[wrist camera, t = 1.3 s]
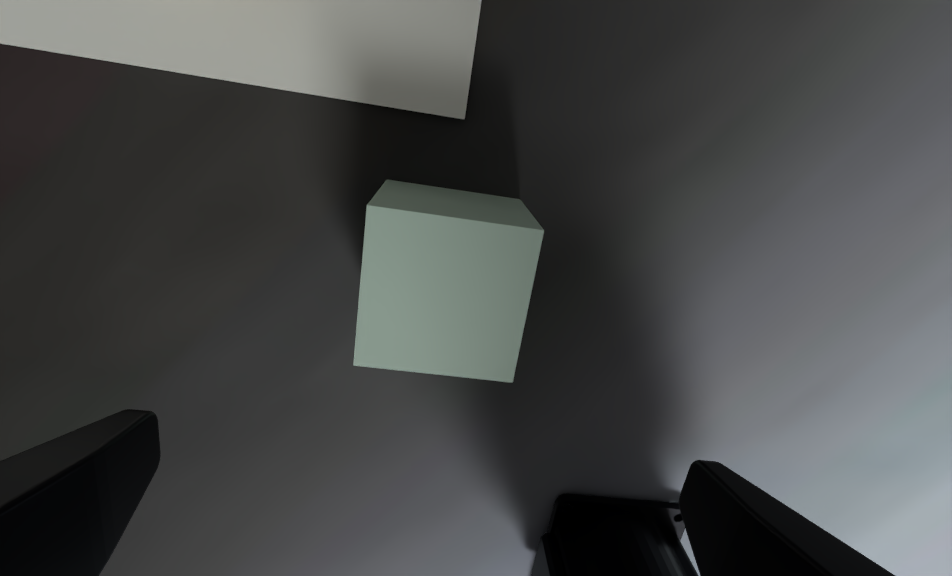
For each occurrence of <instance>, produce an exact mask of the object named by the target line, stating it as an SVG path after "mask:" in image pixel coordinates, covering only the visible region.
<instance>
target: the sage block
mask: <svg viewBox="0 0 952 576" xmlns="http://www.w3.org/2000/svg"><path fill="white" fill-rule="evenodd" d="M543 234H544V229H543V228H542V227H541V226H540V224H539V223H538V222H537V220H536V219H535V218H534V216H533V215H532V214H531V213H530V211H529V210H528V209H527V207H526V206H525V205H524V203H523V202H522V201H521V200H520V199H515V198H508V197H502V196H495V195H488V194H482V193H475V192H468V191H461V190H455V189H448V188H441V187H435V186H428V185H421V184H414V183H408V182H401V181H394V180H388V179H387V180H386V181H385V182H384V183H383V185H382V186H381V187H380V189H379V190H378V191H377V193H376V194H375V195H374V196H373V198H372V199H371V200H370V202H369V203H368V204H367V209H366V221H365V233H364V245H363V257H362V268H361V280H360V292H359V304H358V316H357V328H356V340H355V352H354V364H353V365H354V366H363V367H373V368H382V369H391V370H400V371H409V372H419V373H428V374H437V375H446V376H455V377H464V378H474V379H483V380H492V381H501V382H510V383H513V379H514V374H515V369H516V364H517V359H518V355H519V350H520V345H521V340H522V335H523V330H524V326H525V321H526V316H527V311H528V306H529V302H530V297H531V292H532V287H533V282H534V277H535V273H536V268H537V263H538V258H539V253H540V248H541V244H542V239H543Z"/></svg>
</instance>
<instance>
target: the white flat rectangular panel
mask: <svg viewBox="0 0 952 576" xmlns="http://www.w3.org/2000/svg"><path fill="white" fill-rule="evenodd" d="M481 1H482V0H0V43H1V44H7V45H13V46H19V47H25V48H31V49H37V50H44V51H50V52H56V53H62V54H68V55H74V56H80V57H86V58H92V59H98V60H105V61H111V62H117V63H123V64H129V65H135V66H141V67H147V68H153V69H159V70H166V71H172V72H178V73H184V74H190V75H196V76H202V77H208V78H214V79H220V80H227V81H233V82H239V83H245V84H251V85H257V86H263V87H269V88H275V89H281V90H288V91H294V92H300V93H306V94H312V95H318V96H324V97H330V98H336V99H342V100H349V101H355V102H361V103H367V104H373V105H379V106H385V107H391V108H397V109H403V110H410V111H416V112H422V113H428V114H434V115H440V116H446V117H452V118H458V119H464V120H465V114H466V107H467V99H468V92H469V85H470V78H471V71H472V64H473V57H474V50H475V43H476V36H477V29H478V22H479V15H480V8H481Z"/></svg>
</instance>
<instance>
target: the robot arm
mask: <svg viewBox="0 0 952 576" xmlns="http://www.w3.org/2000/svg"><path fill="white" fill-rule="evenodd" d="M159 461H160V441H159V428H158V419H157V416H156V414H155V413H153V412H152V411H143V410H132V409H127V410H123V411H121V412H118V413H116V414H113V415H111V416H108V417H106V418H104V419H101V420H99V421H96V422H94V423H92V424H89V425H87V426H84V427H82V428H79V429H77V430H75V431H72V432H70V433H67V434H65V435H63V436H60V437H58V438H55V439H53V440H51V441H48V442H46V443H43V444H41V445H38V446H36V447H34V448H31V449H29V450H26V451H24V452H22V453H19V454H17V455H14V456H12V457H9V458H7V459H5V460H2V461H0V576H99V575H100V573H101V571H102V570H103V568H104V567H105V565H106V563H107V562H108V560H109V558H110V557H111V555H112V553H113V551H114V549H115V548H116V546H117V544H118V542H119V540H120V538H121V536H122V535H123V533H124V531H125V529H126V527H127V525H128V523H129V521H130V519H131V518H132V516H133V514H134V512H135V510H136V508H137V506H138V504H139V502H140V501H141V499H142V497H143V495H144V493H145V491H146V489H147V487H148V485H149V484H150V482H151V480H152V478H153V476H154V474H155V472H156V470H157V468H158V465H159ZM566 504H570V505H568V506H564V505H566ZM677 514H678V515H677ZM685 528H686V532H687V535H688V538H689V541H690V544H691V547H692V550H693V554H694V557H695V560H696V563H697V566H698V569H699V572H700V575H701V576H895V575H893V574H892V573H890V572H889V571H887V570H886V569H884V568H882V567H881V566H879V565H878V564H876V563H875V562H873V561H872V560H870V559H868V558H867V557H865V556H864V555H862V554H861V553H859V552H858V551H856V550H854V549H853V548H851V547H850V546H848V545H847V544H845V543H844V542H842V541H841V540H839V539H837V538H836V537H834V536H833V535H831V534H830V533H828V532H827V531H825V530H823V529H822V528H820V527H819V526H817V525H816V524H814V523H813V522H811V521H809V520H808V519H806V518H805V517H803V516H802V515H800V514H799V513H797V512H795V511H794V510H792V509H791V508H789V507H788V506H786V505H785V504H783V503H782V502H780V501H778V500H777V499H775V498H774V497H772V496H771V495H769V494H768V493H766V492H764V491H763V490H761V489H760V488H758V487H757V486H755V485H754V484H752V483H750V482H749V481H747V480H746V479H744V478H743V477H741V476H740V475H738V474H736V473H735V472H733V471H732V470H730V469H729V468H727V467H726V466H724V465H723V464H721V463H719V462H715V461H704V460H697V461H694V462H693V463H692V464H691V466H690V468H689V471H688V474H687V477H686V480H685V483H684V485H683V488H682V491H681V494H680V498H679V503H669V502H657V501H646V500H634V499H623V498H611V497H599V496H588V495H576V494H562V495H560V496H559V497H558V498H557V499H556V501H555V504H554V508H553V511H552V515H551V519H550V523H549V526H548V530H547V533H544V534H543V535H542V536H541V538H540V542H539V546H538V550H537V554H536V558H535V562H534V565H533V569H532V576H698V574H697V572H696V570H695V568H694V566H693V565H692V563H691V561H690V559H689V557H688V555H687V553H686V551H685V550H684V548H683V546H682V544H681V542H680V540H681V537H682V535H683V532H684V529H685Z"/></svg>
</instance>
